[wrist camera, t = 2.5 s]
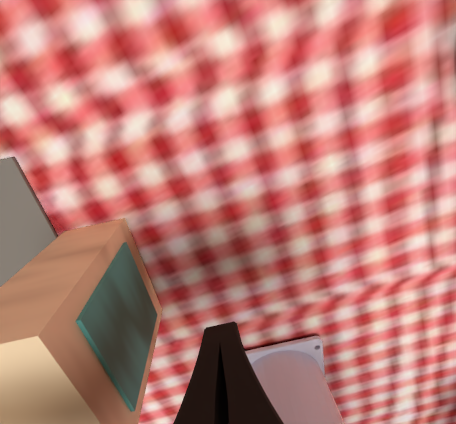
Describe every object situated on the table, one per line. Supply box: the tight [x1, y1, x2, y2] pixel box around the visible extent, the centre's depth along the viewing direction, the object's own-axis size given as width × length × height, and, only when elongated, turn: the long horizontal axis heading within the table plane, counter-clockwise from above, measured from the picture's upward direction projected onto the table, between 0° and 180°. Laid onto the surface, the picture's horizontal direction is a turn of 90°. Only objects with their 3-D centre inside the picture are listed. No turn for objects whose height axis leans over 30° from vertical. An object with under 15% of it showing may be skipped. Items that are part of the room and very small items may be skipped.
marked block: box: [0, 218, 162, 424], centre depth 13 cm, size 8×4×9 cm, turn 12°
